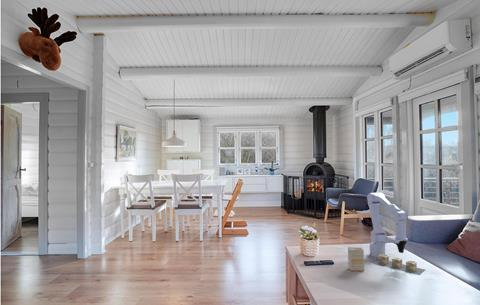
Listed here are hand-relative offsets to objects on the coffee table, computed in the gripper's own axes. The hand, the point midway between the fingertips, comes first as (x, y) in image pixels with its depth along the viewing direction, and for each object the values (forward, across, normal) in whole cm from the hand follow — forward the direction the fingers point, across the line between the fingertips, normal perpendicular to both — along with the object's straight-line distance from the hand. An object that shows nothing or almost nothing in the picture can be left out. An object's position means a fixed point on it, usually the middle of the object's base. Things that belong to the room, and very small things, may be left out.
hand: (401, 252), depth 179 cm
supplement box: (+10, -24, +18) cm, 31 cm away
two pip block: (+9, -1, +10) cm, 13 cm away
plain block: (+9, -1, +2) cm, 9 cm away
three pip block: (+9, -1, -6) cm, 11 cm away
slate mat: (+9, -1, +2) cm, 10 cm away
